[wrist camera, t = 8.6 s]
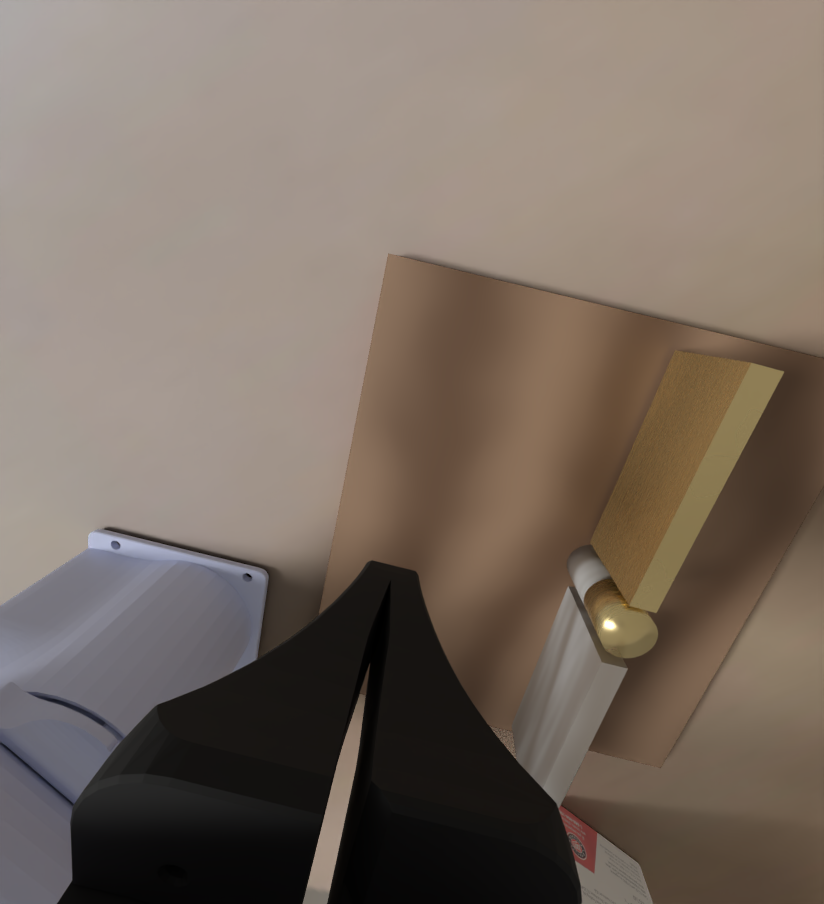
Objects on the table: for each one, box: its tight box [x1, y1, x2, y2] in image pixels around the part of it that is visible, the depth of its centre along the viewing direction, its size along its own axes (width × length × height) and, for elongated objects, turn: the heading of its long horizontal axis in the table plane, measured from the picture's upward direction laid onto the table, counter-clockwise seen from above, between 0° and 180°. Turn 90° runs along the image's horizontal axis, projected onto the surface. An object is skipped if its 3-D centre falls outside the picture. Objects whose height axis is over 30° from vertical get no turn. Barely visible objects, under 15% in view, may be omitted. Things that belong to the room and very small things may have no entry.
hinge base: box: [318, 254, 824, 809], centre depth 18 cm, size 20×22×6 cm
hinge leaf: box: [584, 350, 784, 658], centre depth 17 cm, size 2×11×4 cm, turn 166°
